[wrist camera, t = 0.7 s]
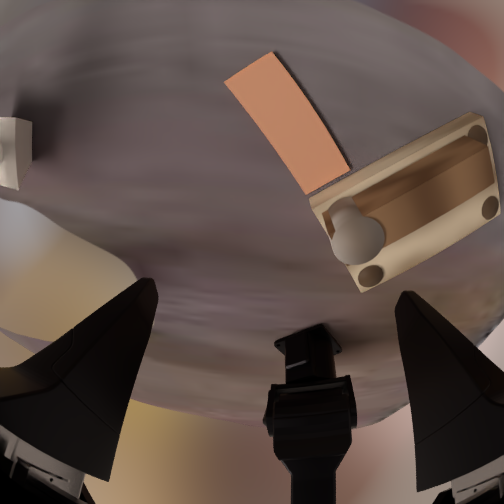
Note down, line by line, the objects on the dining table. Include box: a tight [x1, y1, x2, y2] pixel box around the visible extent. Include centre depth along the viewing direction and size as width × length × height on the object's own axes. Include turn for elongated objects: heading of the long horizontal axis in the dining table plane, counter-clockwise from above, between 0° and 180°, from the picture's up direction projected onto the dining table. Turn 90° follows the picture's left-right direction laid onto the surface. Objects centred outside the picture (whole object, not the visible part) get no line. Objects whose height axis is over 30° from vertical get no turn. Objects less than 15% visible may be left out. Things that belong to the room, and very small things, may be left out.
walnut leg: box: [322, 135, 495, 266], centre depth 16 cm, size 14×4×3 cm, turn 126°
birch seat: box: [309, 112, 500, 293], centre depth 19 cm, size 10×17×2 cm, turn 126°
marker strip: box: [224, 52, 350, 195], centre depth 18 cm, size 10×4×1 cm, turn 36°
